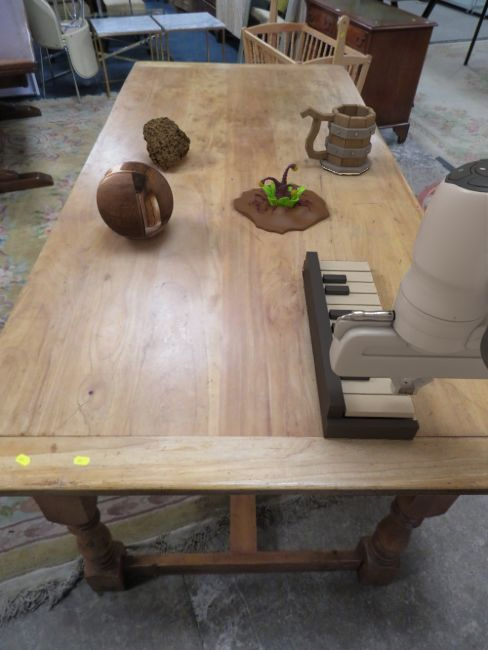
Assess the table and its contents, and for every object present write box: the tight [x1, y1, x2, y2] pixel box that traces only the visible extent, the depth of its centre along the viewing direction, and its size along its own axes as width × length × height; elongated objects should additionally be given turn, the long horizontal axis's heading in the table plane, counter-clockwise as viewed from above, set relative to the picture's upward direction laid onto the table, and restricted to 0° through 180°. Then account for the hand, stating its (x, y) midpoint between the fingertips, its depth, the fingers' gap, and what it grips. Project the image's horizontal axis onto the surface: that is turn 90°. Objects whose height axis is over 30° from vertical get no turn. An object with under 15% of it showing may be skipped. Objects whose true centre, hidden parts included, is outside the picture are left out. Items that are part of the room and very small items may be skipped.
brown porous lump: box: [142, 116, 191, 171], centre depth 114 cm, size 11×13×15 cm
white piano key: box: [343, 394, 416, 419], centre depth 58 cm, size 9×3×1 cm, turn 89°
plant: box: [233, 163, 330, 235], centre depth 95 cm, size 20×20×11 cm
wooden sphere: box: [95, 160, 175, 240], centre depth 87 cm, size 15×15×15 cm
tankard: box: [299, 103, 377, 174], centre depth 112 cm, size 20×13×15 cm, turn 92°
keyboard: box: [301, 250, 421, 441], centre depth 69 cm, size 12×36×6 cm, turn 179°
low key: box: [319, 260, 371, 272], centre depth 79 cm, size 9×3×1 cm, turn 89°
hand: (402, 390), depth 56 cm, fingers closed
